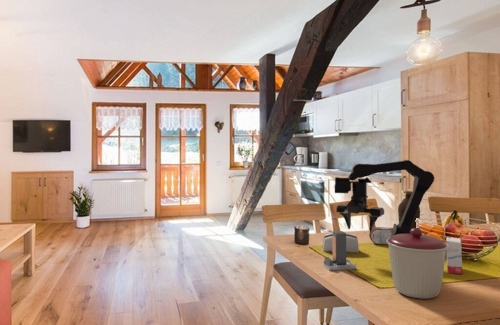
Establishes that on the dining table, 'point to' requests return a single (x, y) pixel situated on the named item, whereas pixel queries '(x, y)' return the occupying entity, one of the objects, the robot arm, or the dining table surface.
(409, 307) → the dining table surface
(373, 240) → the tin
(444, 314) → the dining table surface
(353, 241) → the white slotted device
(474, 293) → the dining table surface
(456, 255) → the ink box
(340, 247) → the block
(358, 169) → the robot arm
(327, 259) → the grey rectangular piece
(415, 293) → the canister
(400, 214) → the olive oil
